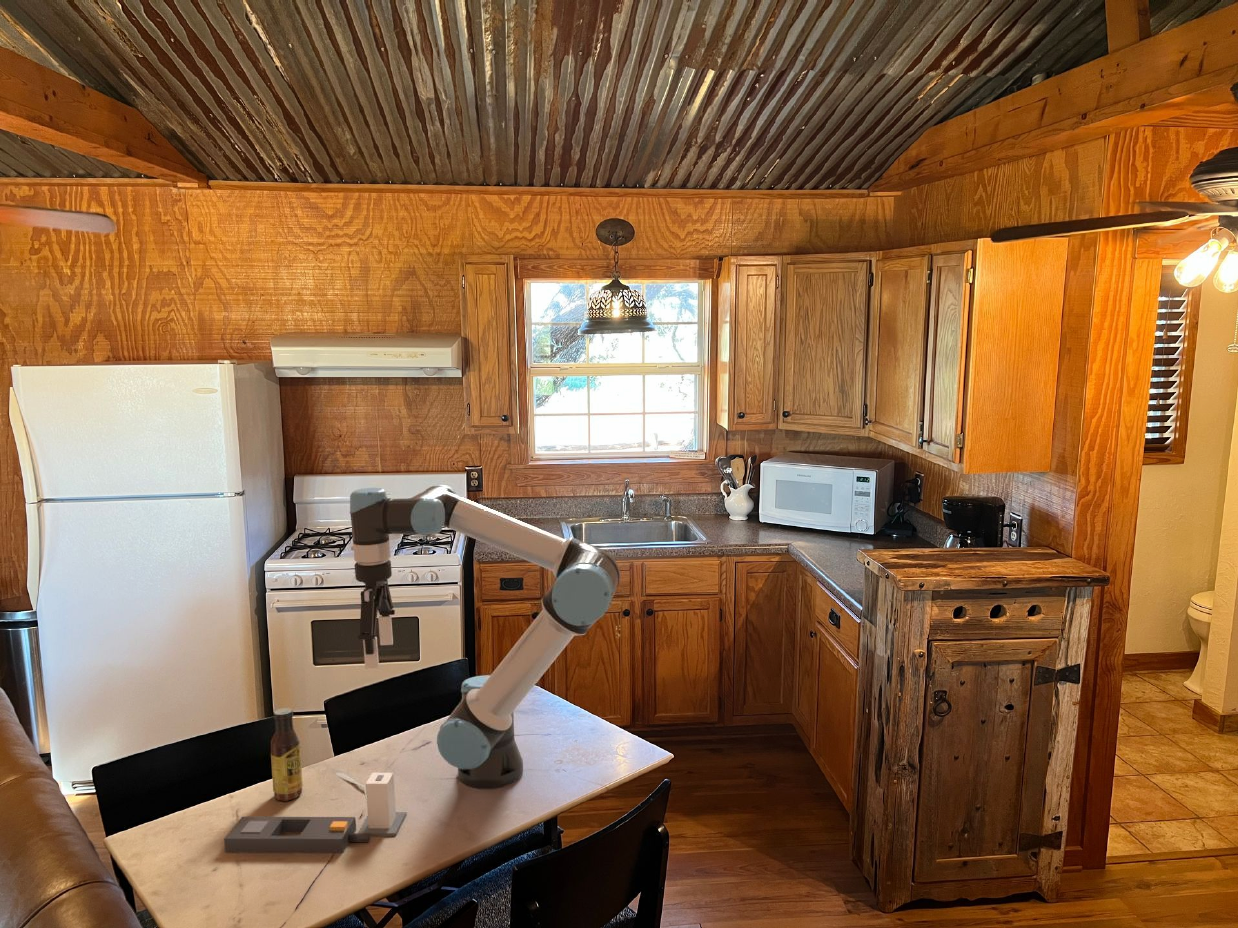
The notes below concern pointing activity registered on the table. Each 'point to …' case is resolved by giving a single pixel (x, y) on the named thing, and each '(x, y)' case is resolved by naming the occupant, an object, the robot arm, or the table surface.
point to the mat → (384, 831)
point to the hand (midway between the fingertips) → (379, 655)
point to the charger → (381, 800)
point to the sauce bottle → (286, 757)
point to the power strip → (313, 838)
